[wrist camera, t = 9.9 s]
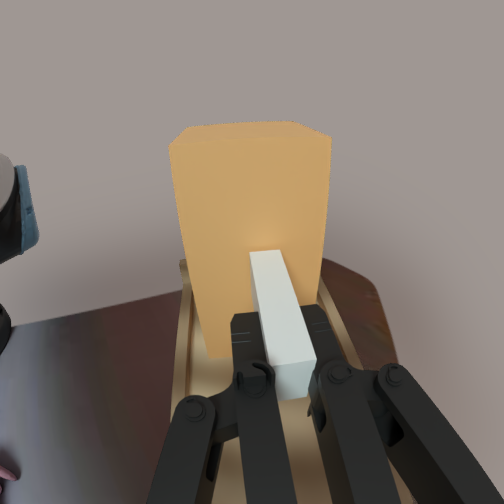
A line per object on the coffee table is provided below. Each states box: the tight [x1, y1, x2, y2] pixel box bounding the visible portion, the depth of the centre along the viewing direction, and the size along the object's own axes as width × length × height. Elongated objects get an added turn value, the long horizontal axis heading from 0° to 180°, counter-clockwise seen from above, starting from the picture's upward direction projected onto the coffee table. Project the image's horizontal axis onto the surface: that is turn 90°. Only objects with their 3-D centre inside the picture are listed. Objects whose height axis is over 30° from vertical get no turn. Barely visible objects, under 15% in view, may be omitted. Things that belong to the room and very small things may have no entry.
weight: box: [168, 121, 332, 358], centre depth 17 cm, size 7×7×14 cm
